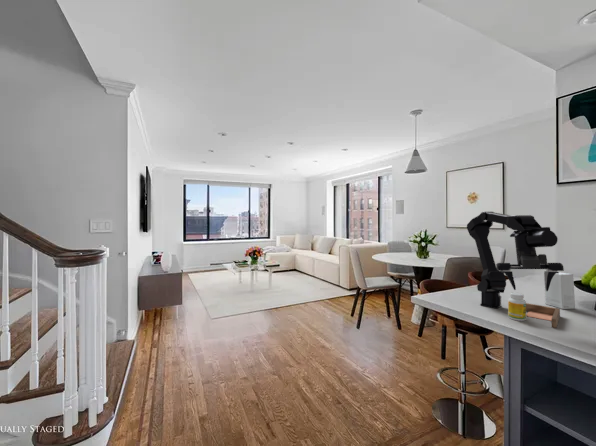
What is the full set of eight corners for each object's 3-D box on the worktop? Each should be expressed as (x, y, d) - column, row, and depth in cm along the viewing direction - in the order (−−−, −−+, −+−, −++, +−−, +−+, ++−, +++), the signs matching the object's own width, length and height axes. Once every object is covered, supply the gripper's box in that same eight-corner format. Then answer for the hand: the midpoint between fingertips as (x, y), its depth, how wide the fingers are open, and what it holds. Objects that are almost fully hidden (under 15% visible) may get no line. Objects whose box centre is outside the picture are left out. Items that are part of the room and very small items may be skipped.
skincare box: (575, 309, 117) (575, 274, 117) (561, 309, 116) (562, 274, 116) (556, 303, 125) (556, 270, 125) (543, 303, 125) (543, 270, 125)
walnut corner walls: (509, 318, 106) (509, 310, 106) (517, 308, 118) (517, 301, 118) (556, 328, 97) (556, 319, 97) (559, 316, 108) (559, 308, 108)
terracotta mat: (526, 316, 109) (526, 315, 109) (529, 311, 114) (529, 310, 114) (553, 321, 103) (553, 320, 103) (555, 316, 108) (555, 315, 108)
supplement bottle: (507, 315, 110) (507, 291, 110) (525, 318, 107) (525, 293, 107) (508, 319, 105) (508, 294, 105) (526, 322, 102) (526, 296, 102)
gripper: (497, 248, 102) (502, 291, 100) (565, 246, 92) (572, 294, 90) (494, 249, 111) (498, 288, 109) (555, 247, 102) (561, 290, 100)
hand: (530, 290), depth 102 cm, fingers open, 9 cm apart
